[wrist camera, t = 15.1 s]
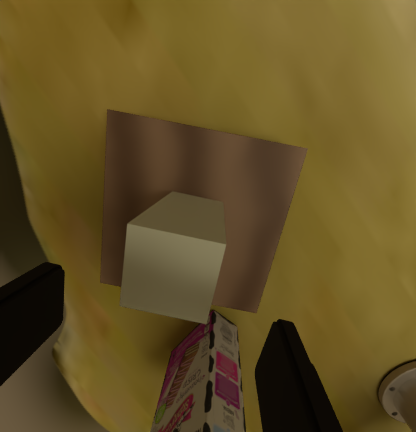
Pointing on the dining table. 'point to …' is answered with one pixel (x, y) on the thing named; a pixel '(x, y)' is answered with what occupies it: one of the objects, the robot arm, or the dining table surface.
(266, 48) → the dining table surface
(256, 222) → the walnut block
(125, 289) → the sage block
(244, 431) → the candy bar box
